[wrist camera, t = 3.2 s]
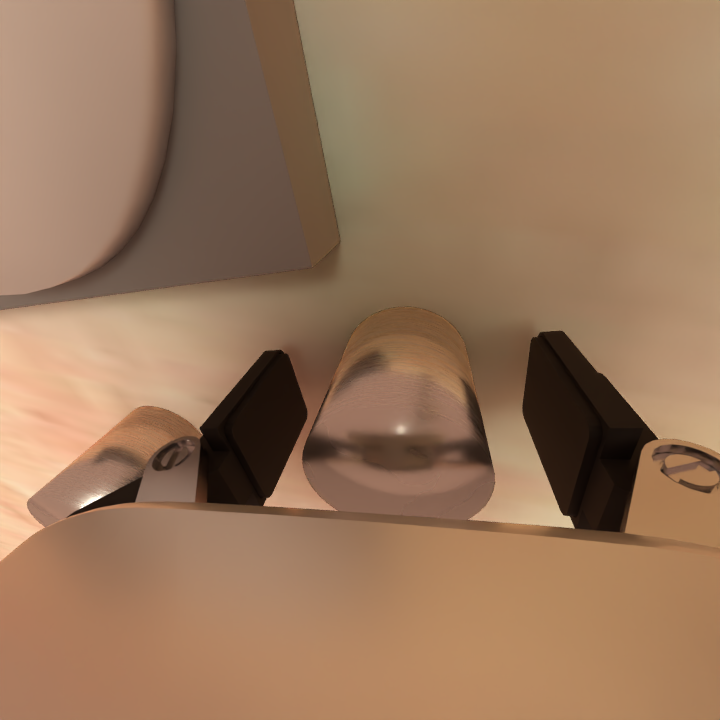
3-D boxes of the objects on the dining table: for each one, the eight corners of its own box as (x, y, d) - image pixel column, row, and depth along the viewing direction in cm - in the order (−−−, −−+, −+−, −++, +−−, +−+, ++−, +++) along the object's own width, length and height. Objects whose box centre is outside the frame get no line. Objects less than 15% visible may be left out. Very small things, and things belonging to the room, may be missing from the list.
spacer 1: (113, 406, 16) (3, 492, 12) (183, 405, 15) (90, 499, 11) (156, 463, 18) (77, 553, 14) (220, 465, 17) (154, 563, 13)
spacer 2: (335, 312, 11) (278, 407, 6) (468, 300, 10) (501, 404, 5) (357, 409, 13) (325, 525, 9) (467, 407, 12) (489, 538, 8)
